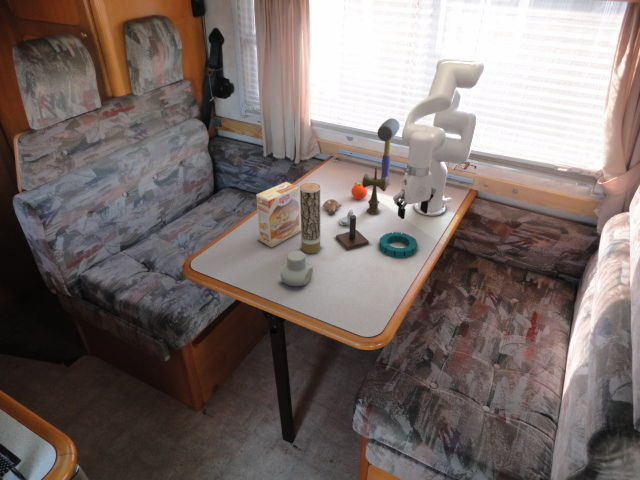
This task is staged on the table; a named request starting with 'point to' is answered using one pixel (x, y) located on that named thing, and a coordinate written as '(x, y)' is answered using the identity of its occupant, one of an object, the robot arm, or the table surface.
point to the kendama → (374, 190)
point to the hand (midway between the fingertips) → (412, 214)
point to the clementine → (359, 191)
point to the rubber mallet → (387, 142)
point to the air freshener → (296, 269)
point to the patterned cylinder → (310, 217)
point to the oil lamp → (331, 206)
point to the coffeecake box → (278, 213)
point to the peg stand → (352, 236)
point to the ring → (398, 251)
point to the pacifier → (346, 219)
